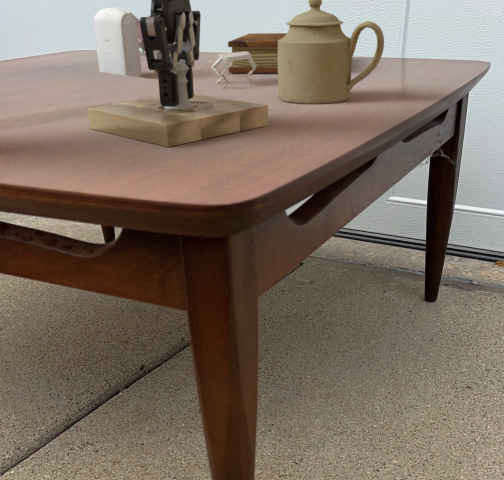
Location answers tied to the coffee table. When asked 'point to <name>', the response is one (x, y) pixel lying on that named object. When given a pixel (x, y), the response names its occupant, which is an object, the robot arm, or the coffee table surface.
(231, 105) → the pad
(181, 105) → the rook chess piece
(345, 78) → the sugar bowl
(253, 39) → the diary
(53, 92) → the coffee table surface
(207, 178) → the coffee table surface
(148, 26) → the robot arm
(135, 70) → the tombstone
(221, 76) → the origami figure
